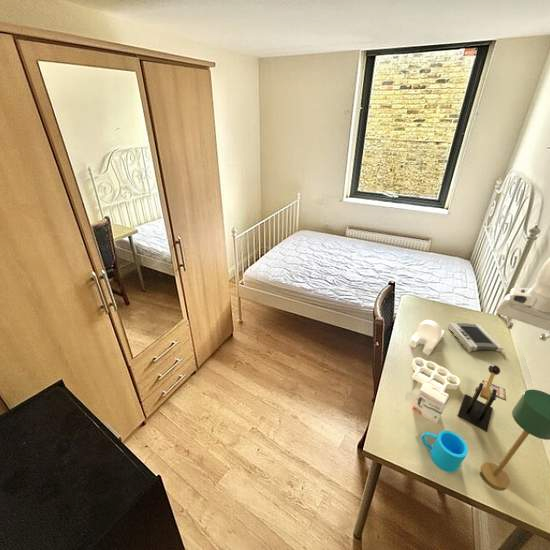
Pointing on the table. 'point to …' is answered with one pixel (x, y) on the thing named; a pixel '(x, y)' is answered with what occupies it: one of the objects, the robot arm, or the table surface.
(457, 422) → the table surface
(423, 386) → the ink box
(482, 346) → the alarm clock
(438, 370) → the white brass knuckles
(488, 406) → the switch bracket
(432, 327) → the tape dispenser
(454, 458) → the mug
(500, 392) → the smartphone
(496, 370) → the switch lever
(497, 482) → the desk lamp
